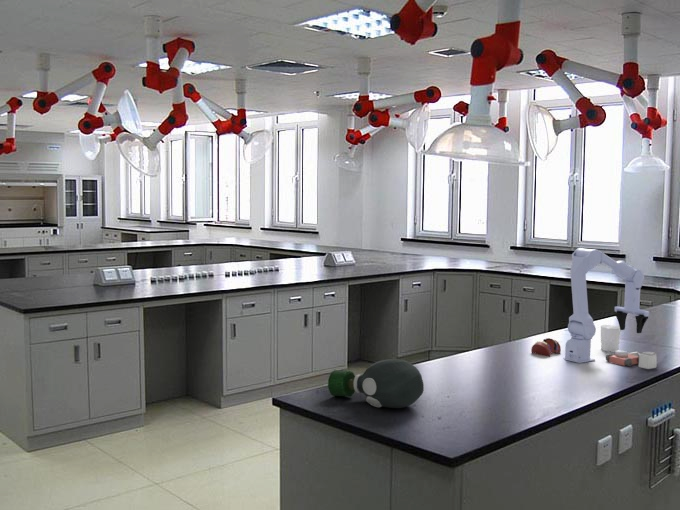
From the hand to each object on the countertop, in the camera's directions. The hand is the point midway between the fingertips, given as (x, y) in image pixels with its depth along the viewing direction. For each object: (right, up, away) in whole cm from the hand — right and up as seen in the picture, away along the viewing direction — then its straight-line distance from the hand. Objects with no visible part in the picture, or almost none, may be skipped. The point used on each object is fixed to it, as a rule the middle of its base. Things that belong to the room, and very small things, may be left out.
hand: (630, 331), depth 280 cm
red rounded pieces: (-34, -10, +3) cm, 35 cm away
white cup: (-4, -9, +10) cm, 14 cm away
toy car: (-4, -11, -10) cm, 15 cm away
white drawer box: (-2, -12, -19) cm, 22 cm away
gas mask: (-107, -15, -68) cm, 127 cm away
